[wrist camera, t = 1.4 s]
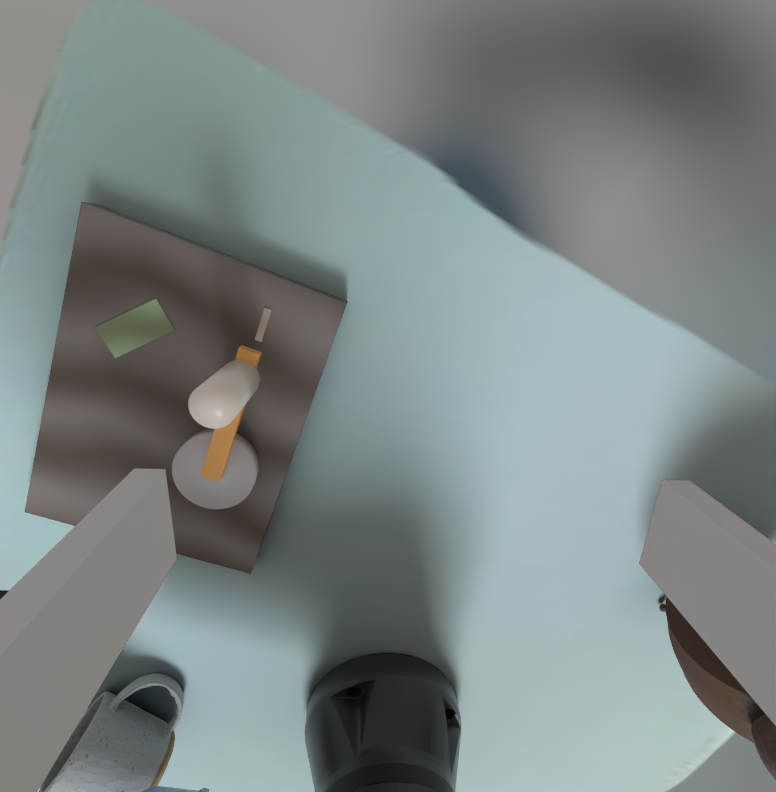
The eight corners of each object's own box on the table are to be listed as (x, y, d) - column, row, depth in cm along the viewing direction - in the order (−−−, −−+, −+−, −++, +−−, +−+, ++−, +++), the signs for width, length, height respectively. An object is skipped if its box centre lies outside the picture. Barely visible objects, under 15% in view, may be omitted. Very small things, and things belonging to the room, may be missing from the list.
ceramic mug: (150, 756, 45) (111, 852, 38) (75, 722, 43) (18, 816, 36) (209, 690, 43) (180, 777, 36) (133, 651, 41) (86, 735, 34)
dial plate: (254, 562, 39) (250, 574, 38) (38, 501, 36) (23, 512, 35) (347, 301, 33) (346, 303, 31) (94, 204, 30) (80, 201, 29)
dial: (247, 508, 36) (214, 579, 28) (171, 485, 35) (115, 553, 27) (297, 359, 32) (276, 391, 24) (215, 329, 31) (165, 354, 23)
